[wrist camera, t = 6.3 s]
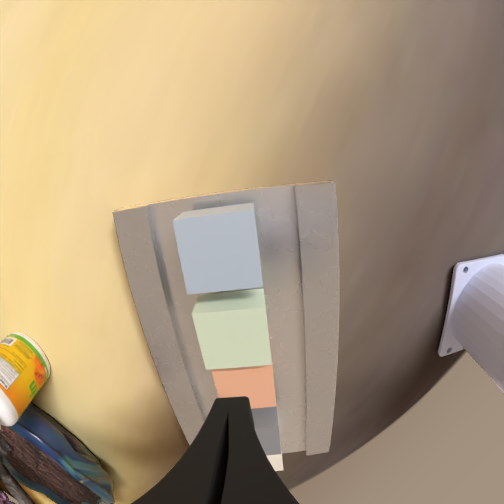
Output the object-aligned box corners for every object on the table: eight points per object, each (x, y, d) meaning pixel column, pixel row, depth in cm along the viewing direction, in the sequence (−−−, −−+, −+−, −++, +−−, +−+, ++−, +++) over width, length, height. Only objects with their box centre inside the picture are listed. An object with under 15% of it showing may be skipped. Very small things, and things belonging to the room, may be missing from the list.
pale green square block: (263, 288, 15) (265, 307, 13) (269, 342, 16) (272, 364, 14) (198, 295, 15) (191, 313, 13) (210, 347, 16) (206, 369, 14)
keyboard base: (330, 180, 16) (338, 182, 14) (327, 438, 22) (331, 451, 21) (121, 207, 16) (109, 212, 14) (197, 448, 23) (195, 461, 21)
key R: (276, 405, 18) (278, 427, 16) (279, 433, 19) (281, 454, 17) (226, 409, 18) (224, 431, 16) (234, 436, 19) (233, 457, 17)
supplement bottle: (48, 387, 21) (2, 455, 12) (8, 353, 20) (-45, 411, 11) (56, 356, 20) (-2, 433, 10) (12, 318, 19) (-54, 380, 9)
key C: (270, 346, 17) (272, 366, 16) (274, 385, 18) (276, 406, 17) (215, 351, 18) (211, 371, 16) (224, 389, 19) (222, 410, 17)
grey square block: (253, 202, 14) (254, 209, 12) (261, 270, 15) (263, 286, 13) (183, 211, 14) (172, 220, 12) (194, 277, 15) (187, 294, 13)
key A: (279, 431, 20) (281, 450, 18) (281, 452, 21) (283, 470, 19) (236, 434, 20) (235, 453, 18) (242, 455, 21) (242, 472, 19)
